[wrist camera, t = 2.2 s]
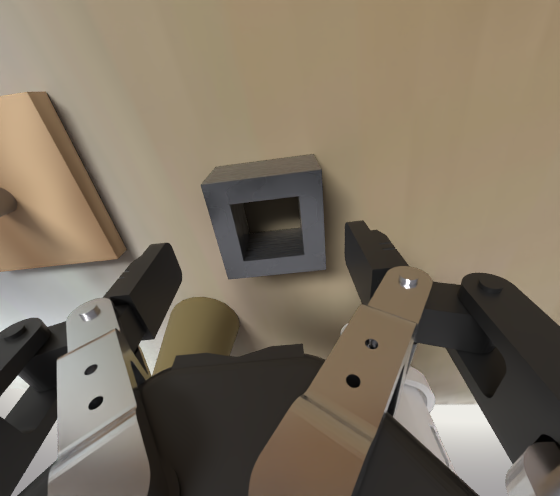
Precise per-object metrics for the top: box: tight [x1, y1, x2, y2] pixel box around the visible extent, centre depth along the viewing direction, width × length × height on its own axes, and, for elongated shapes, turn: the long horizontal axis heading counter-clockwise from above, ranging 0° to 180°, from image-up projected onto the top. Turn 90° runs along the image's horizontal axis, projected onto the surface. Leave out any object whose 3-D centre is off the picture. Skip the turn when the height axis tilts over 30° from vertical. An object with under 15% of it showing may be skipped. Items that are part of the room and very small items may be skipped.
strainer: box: [340, 323, 457, 475], centre depth 17 cm, size 7×7×15 cm
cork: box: [152, 297, 239, 376], centre depth 18 cm, size 6×6×11 cm
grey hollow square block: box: [201, 154, 326, 279], centre depth 16 cm, size 6×6×4 cm
